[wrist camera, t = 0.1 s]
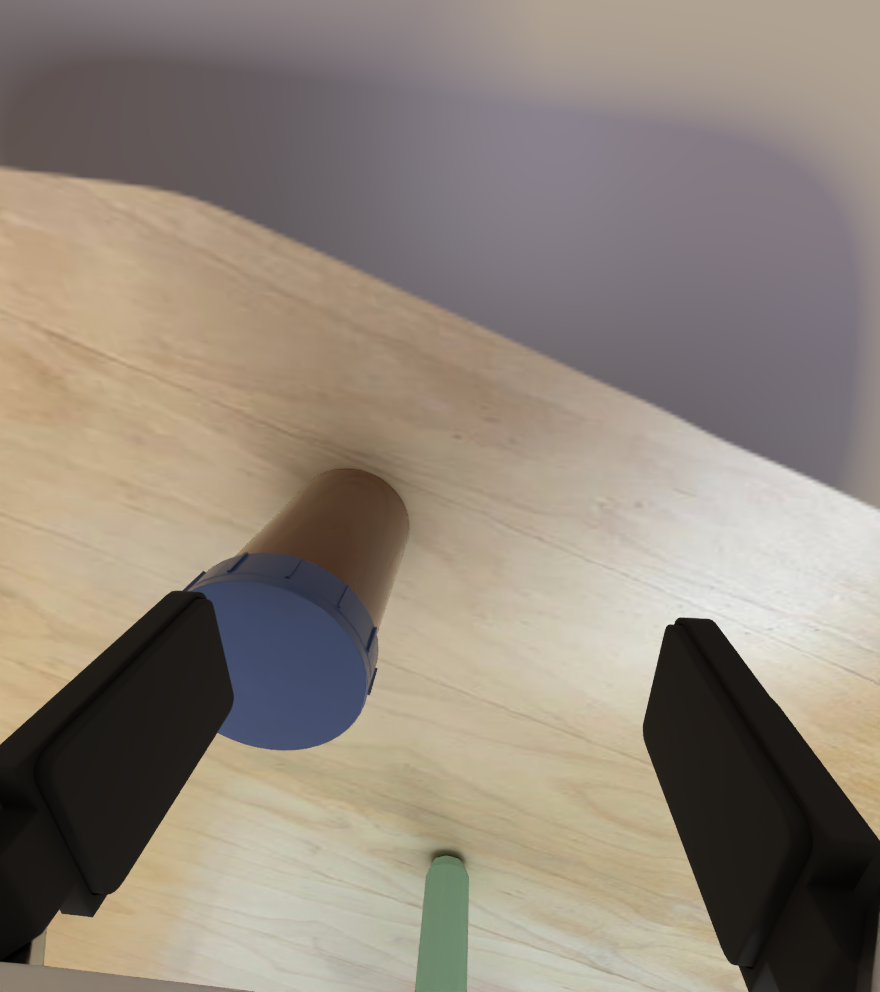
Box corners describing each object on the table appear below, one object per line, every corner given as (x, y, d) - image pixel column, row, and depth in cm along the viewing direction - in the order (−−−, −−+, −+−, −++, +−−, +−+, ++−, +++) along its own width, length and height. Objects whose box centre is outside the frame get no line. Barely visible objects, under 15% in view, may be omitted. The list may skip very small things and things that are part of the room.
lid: (172, 542, 15) (135, 570, 13) (379, 561, 14) (367, 592, 13) (202, 700, 17) (174, 738, 16) (378, 719, 17) (367, 761, 15)
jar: (291, 463, 23) (158, 570, 14) (411, 473, 23) (361, 590, 13) (299, 567, 26) (189, 721, 16) (407, 578, 25) (362, 741, 16)
